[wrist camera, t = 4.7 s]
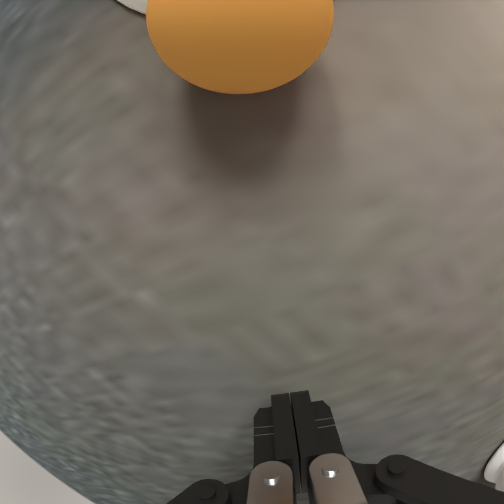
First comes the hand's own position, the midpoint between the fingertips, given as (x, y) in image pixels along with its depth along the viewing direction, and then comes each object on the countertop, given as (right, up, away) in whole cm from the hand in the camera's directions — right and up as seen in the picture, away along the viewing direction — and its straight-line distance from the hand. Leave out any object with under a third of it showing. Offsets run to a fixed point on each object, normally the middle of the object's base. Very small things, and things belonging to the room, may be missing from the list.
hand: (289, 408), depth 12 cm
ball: (-2, +13, -4) cm, 14 cm away
